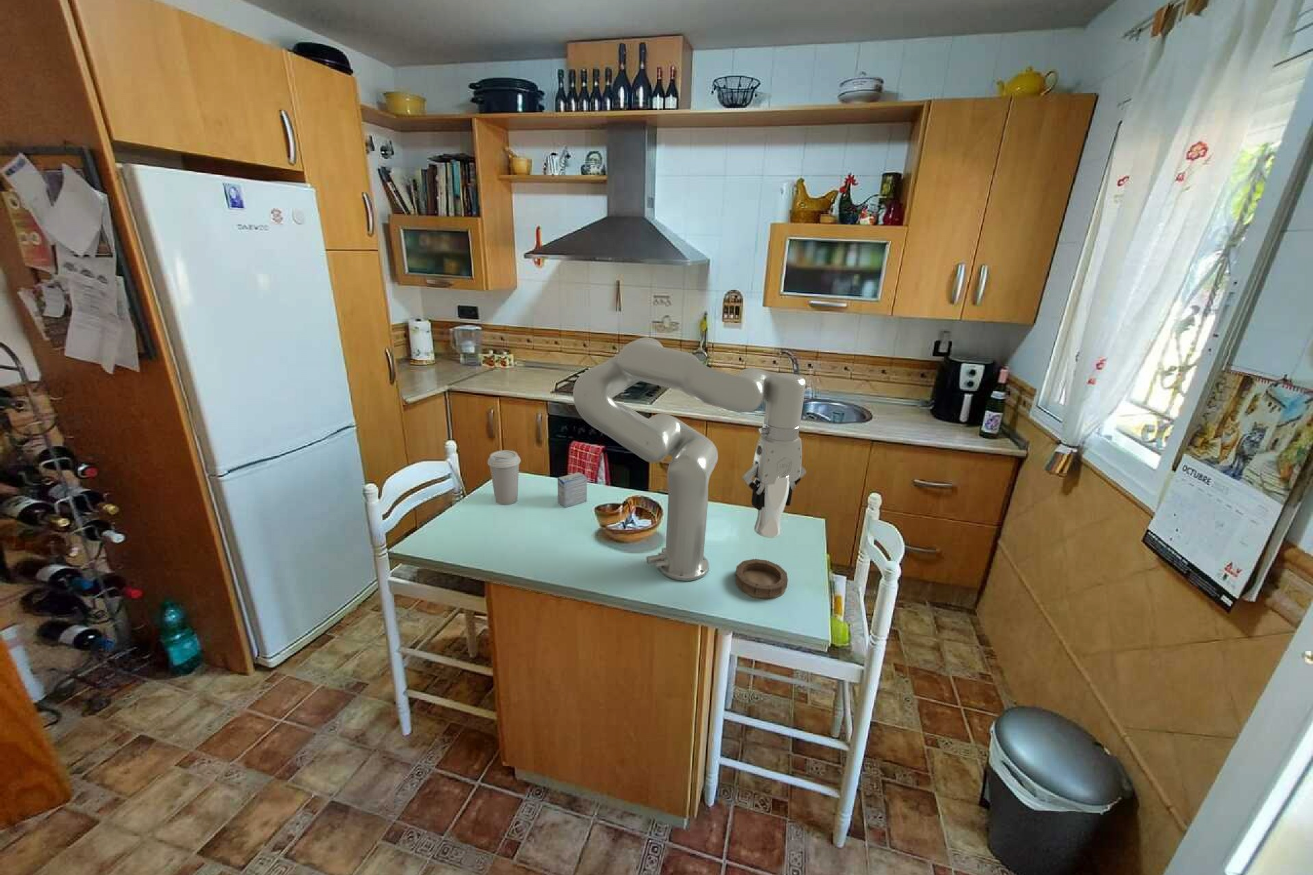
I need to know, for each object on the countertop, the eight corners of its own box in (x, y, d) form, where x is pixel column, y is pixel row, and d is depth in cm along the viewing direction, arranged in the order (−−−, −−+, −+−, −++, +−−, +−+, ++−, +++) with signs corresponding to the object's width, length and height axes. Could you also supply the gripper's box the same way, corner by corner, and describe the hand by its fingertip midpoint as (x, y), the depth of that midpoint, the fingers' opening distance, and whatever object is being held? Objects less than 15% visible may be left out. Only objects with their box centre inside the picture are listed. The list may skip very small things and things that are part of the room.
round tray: (751, 603, 117) (753, 593, 116) (726, 573, 127) (727, 563, 127) (796, 593, 121) (797, 583, 120) (768, 565, 132) (769, 555, 131)
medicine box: (579, 496, 164) (579, 471, 161) (587, 501, 160) (587, 476, 157) (557, 503, 159) (556, 477, 156) (564, 508, 156) (564, 482, 153)
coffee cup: (484, 500, 158) (480, 454, 153) (510, 490, 165) (508, 446, 160) (502, 510, 153) (499, 463, 148) (528, 500, 160) (526, 455, 155)
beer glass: (783, 540, 116) (792, 479, 111) (751, 536, 117) (759, 475, 112) (782, 525, 122) (790, 467, 117) (752, 521, 123) (759, 463, 118)
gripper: (755, 440, 105) (745, 518, 111) (824, 433, 111) (812, 507, 117) (736, 428, 111) (729, 502, 117) (803, 423, 117) (793, 493, 124)
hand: (770, 504), depth 117 cm, fingers closed on beer glass, 6 cm apart
